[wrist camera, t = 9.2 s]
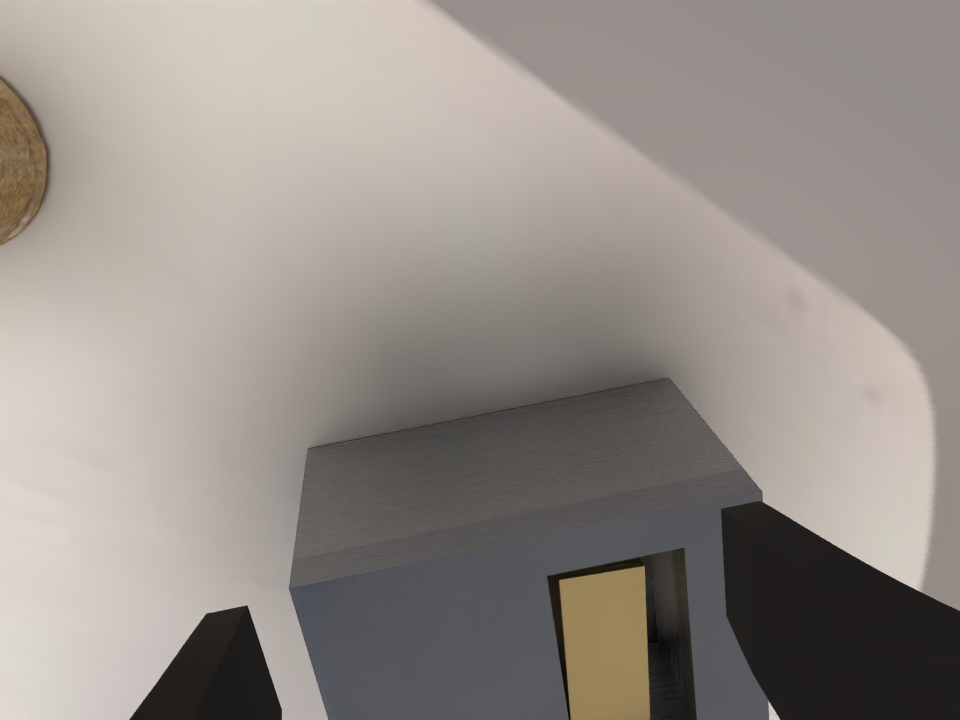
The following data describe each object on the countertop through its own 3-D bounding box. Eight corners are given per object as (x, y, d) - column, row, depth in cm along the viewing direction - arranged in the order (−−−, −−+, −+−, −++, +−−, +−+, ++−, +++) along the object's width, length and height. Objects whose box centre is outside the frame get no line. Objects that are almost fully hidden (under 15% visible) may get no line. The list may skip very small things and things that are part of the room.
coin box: (690, 659, 27) (772, 823, 22) (381, 724, 27) (385, 909, 21) (669, 378, 23) (761, 492, 18) (307, 448, 23) (288, 588, 17)
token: (601, 602, 26) (650, 728, 22) (536, 613, 26) (573, 742, 21) (592, 460, 24) (644, 566, 20) (522, 471, 24) (559, 580, 20)
